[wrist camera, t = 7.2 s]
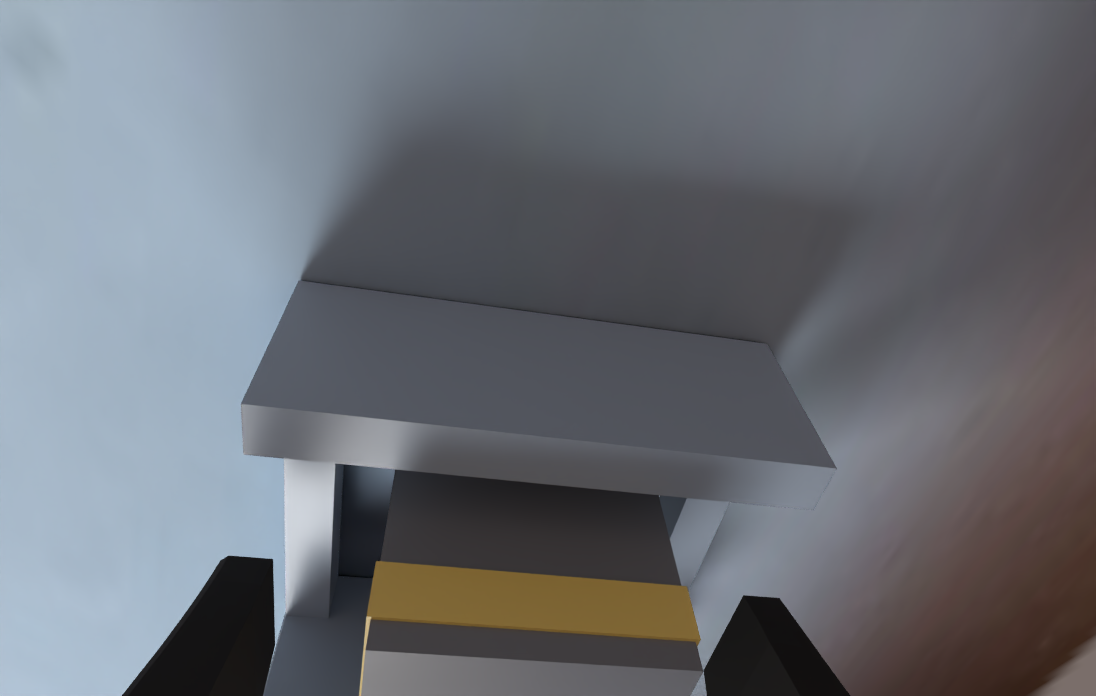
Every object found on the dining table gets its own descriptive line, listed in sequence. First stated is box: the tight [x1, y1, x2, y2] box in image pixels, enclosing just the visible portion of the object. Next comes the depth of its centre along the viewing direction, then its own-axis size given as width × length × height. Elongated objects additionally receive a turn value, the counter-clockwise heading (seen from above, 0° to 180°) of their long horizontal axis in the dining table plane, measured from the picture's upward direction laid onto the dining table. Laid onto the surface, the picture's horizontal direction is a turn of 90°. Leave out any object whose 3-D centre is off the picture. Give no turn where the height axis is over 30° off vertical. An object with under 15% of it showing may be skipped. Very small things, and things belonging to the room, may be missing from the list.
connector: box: [359, 469, 703, 696], centre depth 12 cm, size 4×4×5 cm
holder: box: [241, 281, 837, 696], centre depth 12 cm, size 8×8×3 cm
